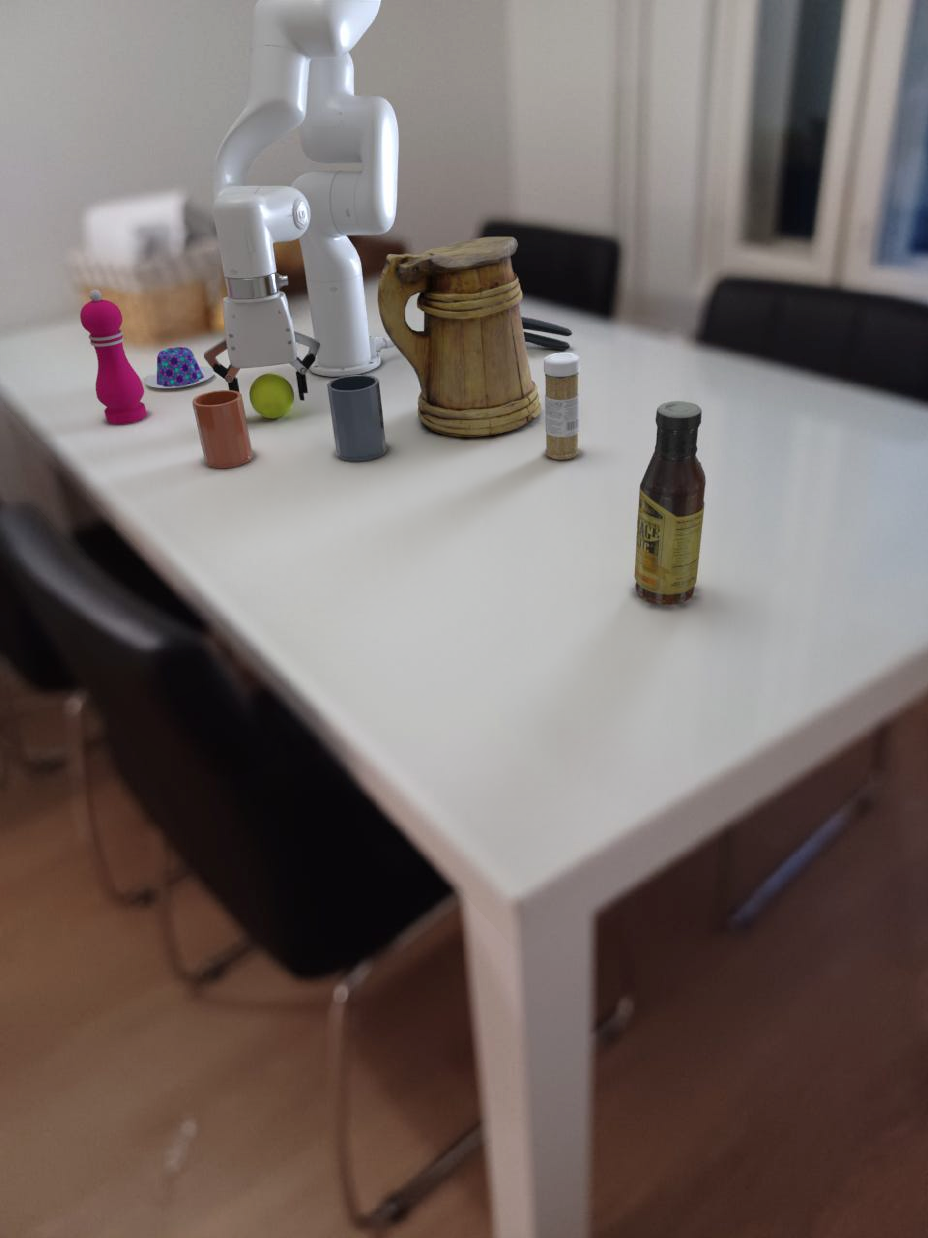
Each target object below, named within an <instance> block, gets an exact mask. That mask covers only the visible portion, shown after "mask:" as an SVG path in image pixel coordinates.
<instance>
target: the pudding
mask: <svg viewBox="0 0 928 1238" xmlns="http://www.w3.org/2000/svg"><path fill="white" fill-rule="evenodd" d="M214 374H215V372H214V371H213V369H212V367H207V366H201V365H199V363H198V361H197V359H196V356H195V355H194V352H193V350H191V349H190V348H189V347H185V346H184V347H182V346H177V347H169V348H165V349H164V350H160V351H159V352H158V354H157V357H156V372H154V373H152V374H150V375H148V376H147V377H145V379H144V383H145V385H146V386H148V387H152V388H157V389H181V388H187V387H190V386H191V387H192V386H194V385H196V384H200V383H202V382H205V381H207V380H209V379H210V378H212V377H213V376H214Z"/></svg>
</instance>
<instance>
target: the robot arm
mask: <svg viewBox="0 0 928 1238" xmlns="http://www.w3.org/2000/svg"><path fill="white" fill-rule="evenodd" d="M381 1H382V0H257V2H256V3H255V5H254V7H253V10H252V15H251V29H250V44H249V45H250V46H249V61H248V76H247V91H246V92H247V94H246V104H245V106H244V109H243V111H242V112H241V113H240V114H239V116H238V117H237V118H236V119H235V120H234V122H233V124H232V125H231V126H230V128H229V129H228V131H227V133H226V134H225V136H224V138H223V140H222V142H221V144H220V145H219V147H218V150H217V152H216V155H215V158H214V160H213V161H214V162H213V167H212V181H211V197H210V199H211V200H210V201H211V214H212V219H213V223H214V225H215V231H216V237H217V243H218V250H219V254H220V255H219V256H220V260H221V266H222V272H223V278H224V284H225V289H226V295H227V296H225V297H223V298H222V317H223V327H224V336H225V337H224V338H223V339H222V340H220V341H218V342H217V343H216V344H214V345H213V346H211V347H210V348H208V349H207V350H205V351H204V353H203V359H204V360H205V361H206V362H207V364H208V365H209V367H210V368H211V369H212V370H213V371H214V374H217V375H218V376H219V377H221V378H222V379H223V380H225V382H226V383H227V385H228V390H233V391H237V392H239V393H241V391H240V385H239V380H238V377H236V376H237V375H238V373H239V371H240V370H242V369H244V370H245V369H254V368H263V367H274V366H280V365H290V366H291V367H292V368H294V369H295V378H296V385H297V392H298V398H299V400H300V401H302V402H303V401H305V394H309V390H308V383H307V382H308V381H307V373H308V371H310V372H311V373H313V374H314V375H318V376H322V377H334V378H335V377H336V378H340V377H344V376H350V375H362V374H364V373H368V372H371V371H373V370H376V369H377V368H378V367H379V366H380V365H381V356H380V354H379V352H381V350H383V349H390V348H394V347H396V346H395V345H394V343H393V342H392V341H391V339H390V338H389V336H384V337H382V336H381V335H377V336H371V335H370V333H369V332H370V331H369V323H368V315H367V314H368V313H367V304H366V296H365V287H364V286H365V285H364V279H363V278H364V277H363V268H362V262H361V259H360V256H359V253H358V252H357V251H358V250H357V249H356V247H355V245H354V244H353V243H352V242H351V240H350V239H349V237H348V236H380V235H383V234H386V233H387V232H389V231H390V230H391V228H392V227H393V225H394V223H395V219H396V213H397V206H398V205H397V203H398V176H399V175H398V174H399V151H400V150H399V148H400V147H399V145H400V142H399V141H400V140H399V139H400V138H399V137H400V136H399V134H400V133H399V125H398V119H397V116H396V113H395V111H394V110H395V109H394V108H393V106H392V104H391V103H390V102H389V101H388V100H387V98H384V97H383V96H379V95H376V94H357V95H355V67H354V62H353V59H352V57H351V54H350V53H349V52H350V51H351V50H352V49H353V48H354V47H355V46H356V44H357V43H358V42H359V40H360V39H361V38H362V37H363V36H364V34H365V33H366V31H367V30H368V29H369V28H370V26H372V24H373V22H374V21H375V19H376V17H377V15H378V13H379V10H380V7H381ZM297 128H299V142H300V147H301V150H302V152H303V154H304V155H305V157H306V158H308V159H309V160H311V161H312V162H316V163H322V164H356V163H357V164H358V163H359V164H361V168H362V169H361V170H318V171H317V170H316V171H309V172H306V173H303V174H301V175H299V176H298V177H296V179H295V180H293V181H292V183H291V185H290V186H287V185H246V179H247V176H248V172H249V169H250V167H251V165H252V163H253V161H255V159H256V158H257V156H258V155H259V154H260V153H262V152H263V150H265V149H266V148H267V147H269V146H270V145H272V144H273V143H274V142H276V141H278V140H279V139H280V138H282V137H284V136H285V135H287V134H289V133H291V132H292V131H294V130H295V129H297ZM297 239H298V241H299V245H300V250H301V255H302V256H301V257H302V262H303V267H304V275H305V280H306V282H305V283H306V289H307V296H308V297H307V298H308V303H309V311H310V317H311V325H312V331H313V337H311V336H308V335H306V334H303V333H300V332H298V331H296V330H295V329H294V323H293V318H292V313H291V310H290V305H289V302H288V299H287V296H286V293H285V292H284V291H280V289H282V287H284V286H289V278H288V275H287V274H286V275H283V274H280V273H278V272H277V265H276V259H275V252H274V251H275V250H274V243H282V242H283V243H284V242H292V241H295V240H297ZM297 343H298V344H300V345H303V346H305V347H308V348H309V349H308V351H307V354H306V355H305V356H304V357H303V359H301V358H300V357H299V356H298V348H297ZM226 350H227V355H228V359H229V365H228V367H226V366H225V365H223V364H222V363H220V362H219V360H218V359H217V357H218V356H219V355H221V354H223V352H225V351H226Z"/></svg>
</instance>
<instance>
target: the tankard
mask: <svg viewBox="0 0 928 1238" xmlns="http://www.w3.org/2000/svg"><path fill="white" fill-rule="evenodd" d="M518 247H519V244H518V241H517V239H516V238H515V237H513V236H485V237H477V238H472V239H466V240H462V241H456V242H451V243H447V244H444V245H441V246H437V247H433V248H430V249H427V250H425V251H423V252H421V253H417V254H409V253H403V254H402V253H401V254H396V253H395V254H393V253H389V254H387V256H386V257H385V264H384V266H383V269H382V271H381V274H380V277H379V280H378V285H377V286H378V287H377V307H378V313H379V317H380V321H381V323H382V326H383V329H384V331H385V334H386V335H387V337H389V338H390V339H391V341H392V342H393V343H394V345H395V346H394V347H396V349H397V350H398V352H399V353H400V354H401V355H402V356H403V357H404V358H405V359H406V361H407V362H408V364H409V365H410V366H411V368H412V369H413V371H414V373H415V375H416V378H417V379H418V383H419V387H420V393H419V395H418V398H417V418H418V419H419V420H420V422H421V423H422V424H424V425H425V426H426V427H428V428H429V430H430V431H431V432H433V433H437V434H440V435H443V436H448V437H458V438H481V437H486V436H492V435H499V434H503V433H507V432H510V431H514V430H517V429H519V428H521V427H523V426H525V425H526V424H528V423H530V422H531V421H533V420H534V419H536V418H538V417H539V415H540V413H541V412H542V404H541V400H540V394H539V392H538V385H537V383H536V382H535V381H533V380H532V374H531V368H530V363H529V356H528V351H527V345H526V342H525V338H524V332H525V331H524V329H523V326H522V320H521V317H522V315H521V314H522V313H521V309H520V302H521V301H522V299H523V291H522V289H521V284H520V282H519V281H520V279H519V276H518V275H517V273H515V272H514V270H513V269H514V268H513V266H512V265H513V264H512V259H511V256H513V255H514V254H515V253H516V252H517V248H518ZM417 294H418V296H417V299H416V307H417V309H419V311H421V312H423V330H415V329H412V328H411V327H410V325H408V324H409V323H407V320H406V308H407V307H406V306H407V304H408V302H409V300H410V299H411V297H413V296H415V295H417Z"/></svg>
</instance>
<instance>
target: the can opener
mask: <svg viewBox="0 0 928 1238" xmlns="http://www.w3.org/2000/svg"><path fill="white" fill-rule="evenodd" d="M521 320H522V326H523V330H527V331H524V338H525V343H529V344H534V345H535V346H538V347H542V348H546V349H550V350H559V351H566V350H567V351H568V350H569V349H570V348H571V344H570V343H569V342H567V341H564V340H562V339H561V340H560V339H557V338H554V337H553V338H552V337H549V336H545V335H542V334H538V333H537V334H536V333H532V332H528V331H533V332H534V331H535V332H541V333H547V334H551V335H557V336H563V337H571V336H572V335H573V332H572V330H571V329H570V328H568V327H566V326H565V327H564V326H562V325H558V324H555V323H552V322H548V321H545V320H539V319H535V318H532V317H531V318H530V317H527V316H526V317H525V316H521Z"/></svg>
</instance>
